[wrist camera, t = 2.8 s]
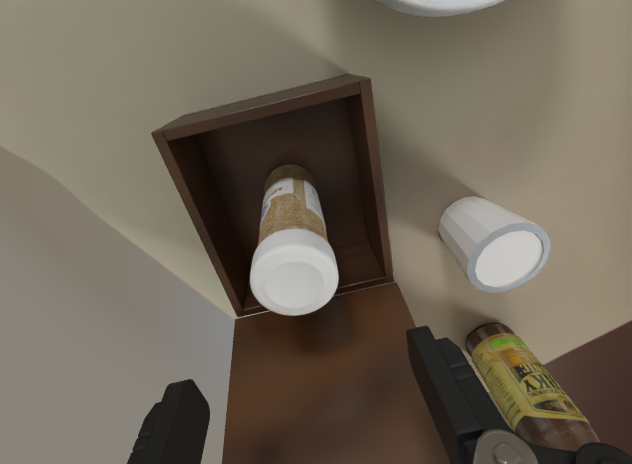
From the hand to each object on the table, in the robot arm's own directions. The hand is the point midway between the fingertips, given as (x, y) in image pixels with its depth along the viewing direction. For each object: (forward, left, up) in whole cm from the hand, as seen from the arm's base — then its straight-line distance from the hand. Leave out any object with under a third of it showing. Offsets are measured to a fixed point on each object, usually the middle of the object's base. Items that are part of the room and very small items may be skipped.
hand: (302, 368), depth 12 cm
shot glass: (+8, +16, -19) cm, 26 cm away
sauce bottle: (+26, +19, -19) cm, 37 cm away
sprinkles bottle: (0, 0, -18) cm, 18 cm away
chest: (0, 0, -19) cm, 19 cm away
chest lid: (+9, 0, -4) cm, 9 cm away
